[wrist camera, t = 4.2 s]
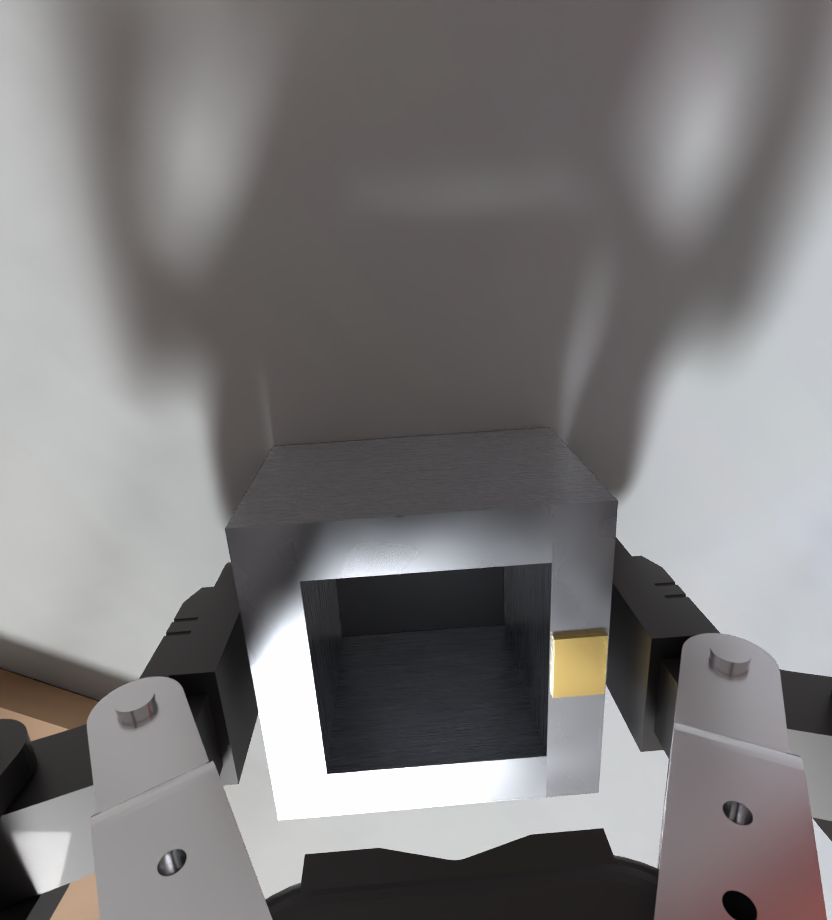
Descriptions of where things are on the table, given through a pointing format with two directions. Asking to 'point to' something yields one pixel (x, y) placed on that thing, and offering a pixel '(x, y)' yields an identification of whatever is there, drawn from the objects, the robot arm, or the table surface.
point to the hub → (433, 651)
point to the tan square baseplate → (44, 717)
